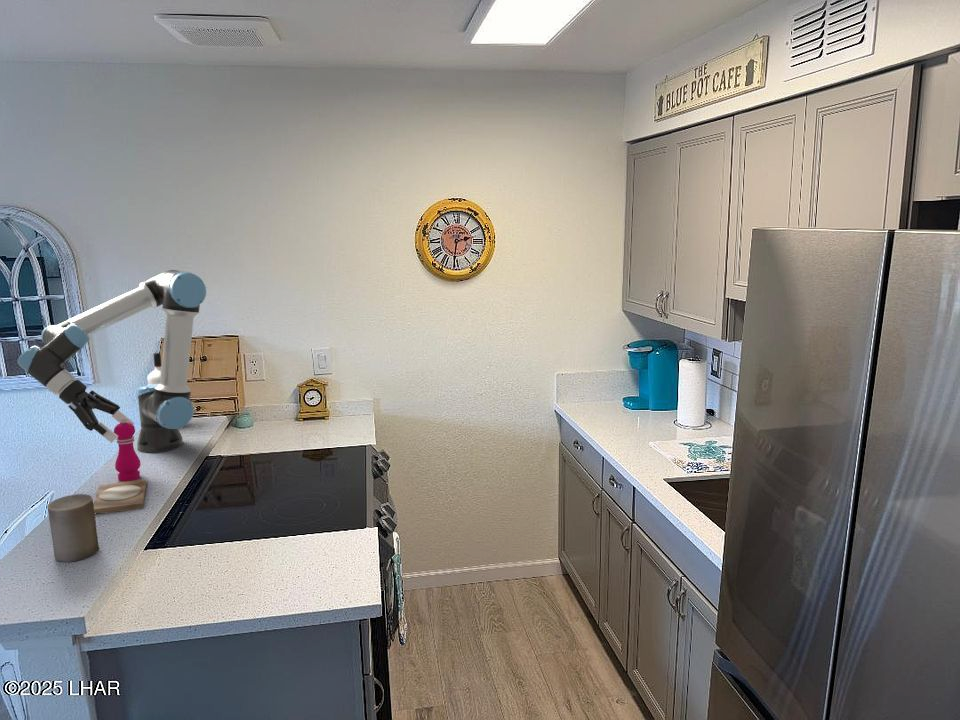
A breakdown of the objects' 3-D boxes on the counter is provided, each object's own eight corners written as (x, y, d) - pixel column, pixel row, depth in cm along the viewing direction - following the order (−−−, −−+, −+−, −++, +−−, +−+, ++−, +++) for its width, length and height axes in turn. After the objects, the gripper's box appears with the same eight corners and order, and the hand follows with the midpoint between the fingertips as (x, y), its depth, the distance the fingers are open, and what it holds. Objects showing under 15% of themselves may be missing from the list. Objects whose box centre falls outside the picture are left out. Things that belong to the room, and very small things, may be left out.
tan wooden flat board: (100, 489, 210) (99, 483, 209) (146, 483, 214) (146, 477, 214) (91, 514, 191) (90, 508, 191) (142, 507, 196) (142, 501, 196)
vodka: (151, 424, 276) (145, 351, 270) (176, 422, 279) (170, 350, 273) (149, 430, 267) (142, 355, 261) (175, 428, 271) (169, 354, 265)
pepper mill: (131, 483, 215) (125, 422, 211) (111, 481, 216) (104, 420, 212) (146, 475, 221) (141, 415, 217) (127, 473, 223) (121, 414, 219)
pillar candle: (101, 541, 176) (94, 486, 173) (96, 558, 167) (88, 501, 164) (58, 548, 172) (50, 492, 169) (50, 565, 163) (41, 507, 160)
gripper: (77, 386, 223) (130, 429, 228) (38, 406, 198) (98, 454, 203) (92, 370, 222) (145, 413, 227) (56, 388, 198) (116, 436, 203)
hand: (123, 432), depth 215 cm, fingers open, 13 cm apart
